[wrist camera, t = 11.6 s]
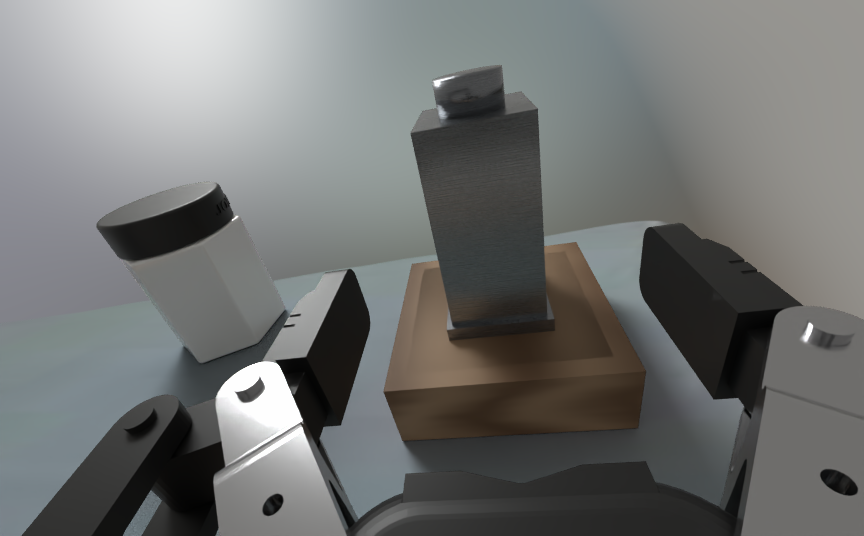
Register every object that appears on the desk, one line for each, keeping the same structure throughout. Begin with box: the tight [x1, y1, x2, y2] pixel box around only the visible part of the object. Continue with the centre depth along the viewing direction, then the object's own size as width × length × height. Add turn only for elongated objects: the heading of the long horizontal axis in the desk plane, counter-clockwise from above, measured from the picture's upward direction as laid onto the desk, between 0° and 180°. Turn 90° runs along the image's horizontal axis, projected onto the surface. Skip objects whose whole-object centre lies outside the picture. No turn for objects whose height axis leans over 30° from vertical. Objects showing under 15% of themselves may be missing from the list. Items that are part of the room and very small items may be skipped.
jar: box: [97, 182, 286, 363], centre depth 30 cm, size 9×8×12 cm
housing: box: [411, 65, 555, 341], centre depth 19 cm, size 6×6×12 cm
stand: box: [384, 242, 646, 441], centre depth 23 cm, size 12×12×4 cm
